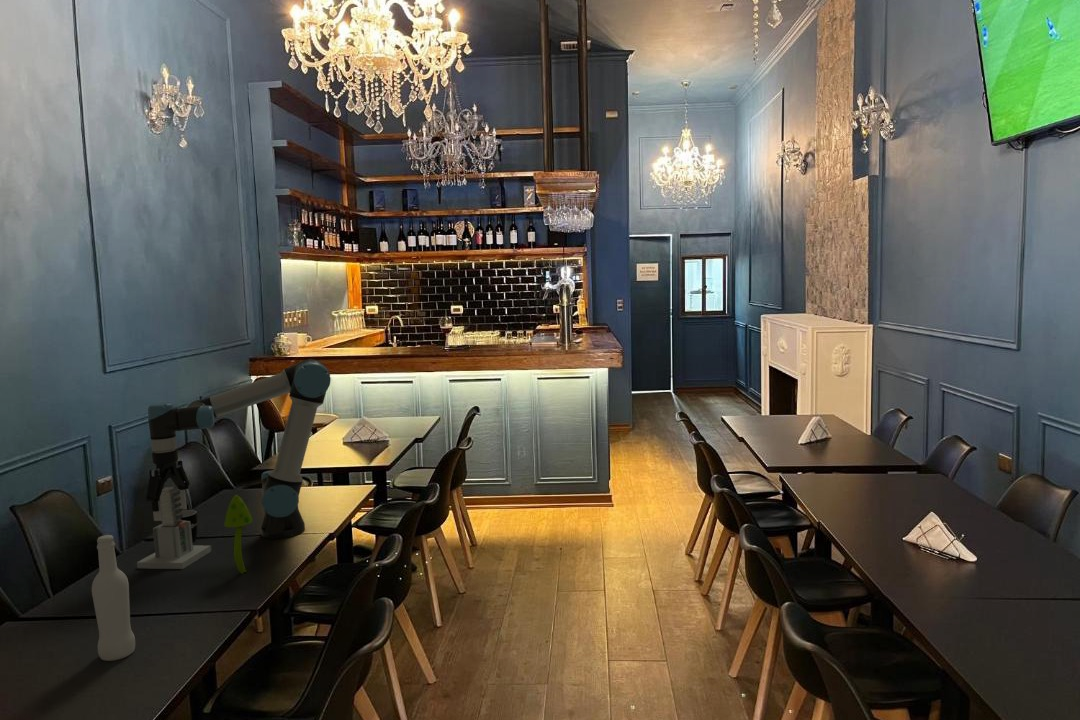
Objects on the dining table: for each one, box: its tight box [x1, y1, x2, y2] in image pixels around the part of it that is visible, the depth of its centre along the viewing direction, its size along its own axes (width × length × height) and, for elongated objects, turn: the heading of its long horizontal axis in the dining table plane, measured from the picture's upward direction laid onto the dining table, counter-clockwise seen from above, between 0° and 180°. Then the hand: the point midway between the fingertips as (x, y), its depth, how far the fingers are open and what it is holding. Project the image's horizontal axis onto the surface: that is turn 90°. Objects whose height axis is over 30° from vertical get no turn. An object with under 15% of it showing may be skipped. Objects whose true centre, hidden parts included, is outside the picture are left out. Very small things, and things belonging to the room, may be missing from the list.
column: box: [159, 486, 185, 552], centre depth 255 cm, size 5×4×22 cm
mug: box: [180, 509, 198, 543], centre depth 276 cm, size 12×9×10 cm
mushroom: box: [223, 494, 254, 574], centre depth 241 cm, size 8×8×25 cm
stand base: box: [136, 521, 212, 570], centre depth 256 cm, size 16×16×13 cm
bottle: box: [91, 534, 136, 662], centre depth 189 cm, size 8×8×30 cm
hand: (170, 514), depth 255 cm, fingers open, 12 cm apart
